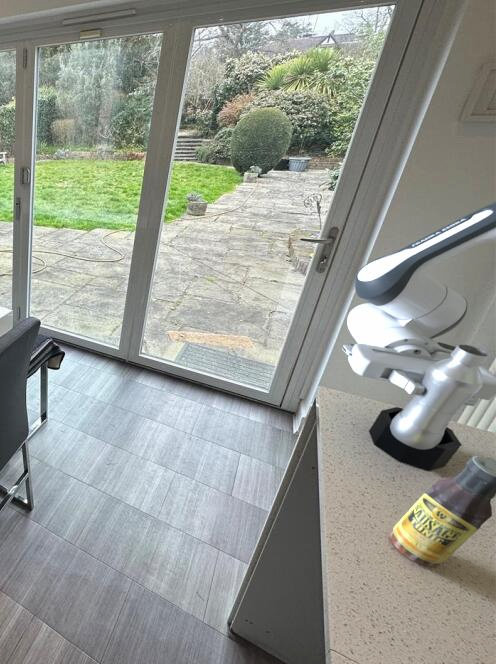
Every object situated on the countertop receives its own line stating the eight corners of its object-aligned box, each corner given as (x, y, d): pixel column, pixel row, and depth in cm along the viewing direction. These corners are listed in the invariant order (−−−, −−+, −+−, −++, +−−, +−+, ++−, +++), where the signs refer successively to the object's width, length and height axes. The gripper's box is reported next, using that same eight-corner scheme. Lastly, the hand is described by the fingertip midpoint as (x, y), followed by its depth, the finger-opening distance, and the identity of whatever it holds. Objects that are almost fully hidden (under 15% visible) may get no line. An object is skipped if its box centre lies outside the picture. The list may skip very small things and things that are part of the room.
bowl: (393, 425, 91) (407, 404, 88) (455, 463, 82) (472, 441, 79) (357, 433, 89) (370, 412, 86) (417, 474, 79) (433, 452, 76)
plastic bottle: (426, 436, 76) (492, 347, 66) (437, 460, 71) (511, 367, 61) (381, 422, 79) (439, 334, 69) (389, 444, 74) (452, 353, 64)
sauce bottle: (378, 538, 67) (444, 452, 58) (401, 526, 69) (468, 441, 60) (428, 578, 62) (509, 490, 53) (451, 563, 64) (533, 476, 55)
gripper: (345, 329, 82) (378, 368, 70) (475, 351, 76) (535, 397, 65) (332, 355, 85) (361, 396, 73) (456, 378, 79) (510, 426, 67)
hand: (444, 397), depth 69 cm, fingers closed on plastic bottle, 6 cm apart
